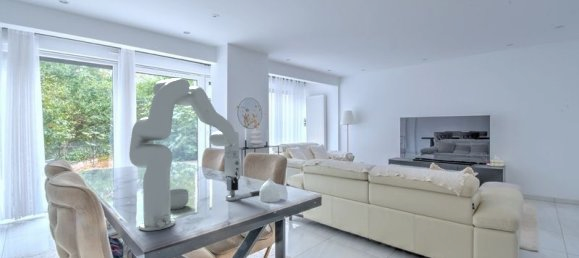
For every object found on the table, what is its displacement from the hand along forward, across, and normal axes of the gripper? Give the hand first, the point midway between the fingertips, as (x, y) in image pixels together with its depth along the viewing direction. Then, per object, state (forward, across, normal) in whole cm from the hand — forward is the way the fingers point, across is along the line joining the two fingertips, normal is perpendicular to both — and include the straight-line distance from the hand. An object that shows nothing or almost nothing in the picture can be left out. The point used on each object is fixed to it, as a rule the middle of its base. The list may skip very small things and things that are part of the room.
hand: (232, 188), depth 148 cm
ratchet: (+6, 0, -8) cm, 10 cm away
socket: (+1, 0, 0) cm, 1 cm away
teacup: (+6, +7, +28) cm, 30 cm away
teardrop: (+6, -14, -14) cm, 21 cm away
